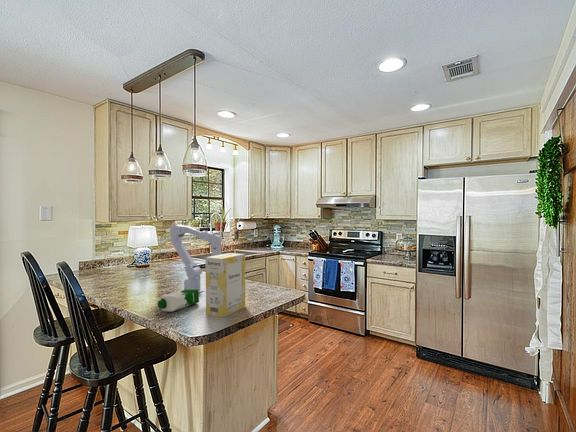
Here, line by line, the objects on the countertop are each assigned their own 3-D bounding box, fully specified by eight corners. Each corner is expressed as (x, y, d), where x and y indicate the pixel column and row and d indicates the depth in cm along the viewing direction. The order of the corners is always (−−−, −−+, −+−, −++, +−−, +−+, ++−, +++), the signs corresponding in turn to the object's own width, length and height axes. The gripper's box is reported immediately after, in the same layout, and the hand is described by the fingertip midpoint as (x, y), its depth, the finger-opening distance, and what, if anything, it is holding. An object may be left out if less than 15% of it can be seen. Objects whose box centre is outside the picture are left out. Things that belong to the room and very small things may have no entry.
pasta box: (222, 317, 141) (222, 258, 141) (206, 314, 146) (205, 257, 145) (245, 306, 157) (245, 254, 157) (229, 304, 162) (229, 252, 162)
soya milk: (188, 287, 166) (156, 295, 149) (199, 287, 162) (168, 295, 145) (189, 303, 166) (157, 313, 148) (200, 303, 161) (169, 314, 144)
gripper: (215, 256, 176) (216, 279, 176) (228, 253, 190) (228, 274, 190) (205, 256, 178) (206, 278, 178) (218, 252, 192) (219, 273, 192)
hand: (217, 276), depth 184 cm, fingers closed
